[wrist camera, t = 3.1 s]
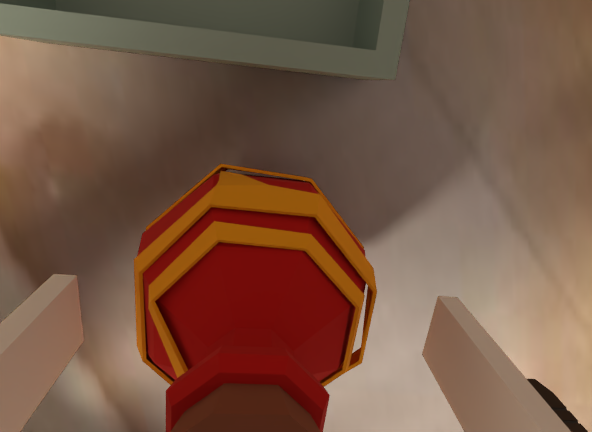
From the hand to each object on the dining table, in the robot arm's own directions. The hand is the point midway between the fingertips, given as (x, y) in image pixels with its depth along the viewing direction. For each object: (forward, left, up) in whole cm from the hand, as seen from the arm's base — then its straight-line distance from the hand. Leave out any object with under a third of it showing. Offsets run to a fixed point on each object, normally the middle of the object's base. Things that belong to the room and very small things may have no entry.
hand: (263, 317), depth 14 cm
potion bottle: (0, 0, -9) cm, 9 cm away
